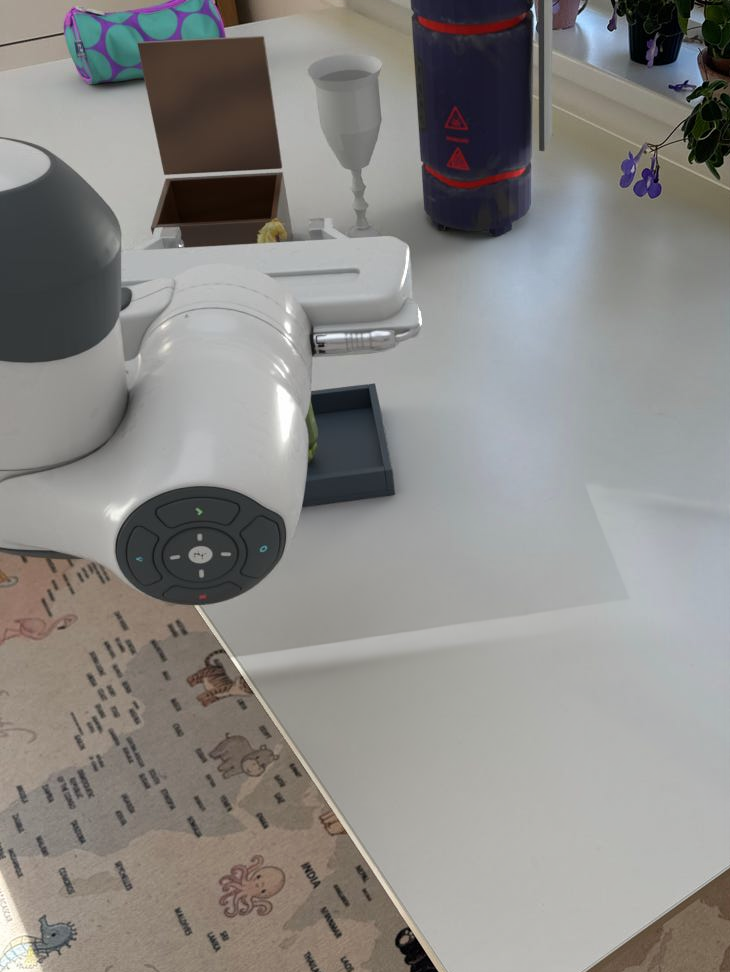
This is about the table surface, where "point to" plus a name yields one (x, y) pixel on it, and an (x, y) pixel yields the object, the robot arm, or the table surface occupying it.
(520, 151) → the navy canister
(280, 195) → the chest
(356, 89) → the chalice
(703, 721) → the table surface
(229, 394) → the robot arm
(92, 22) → the pencil case
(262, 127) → the lid
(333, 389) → the tray
